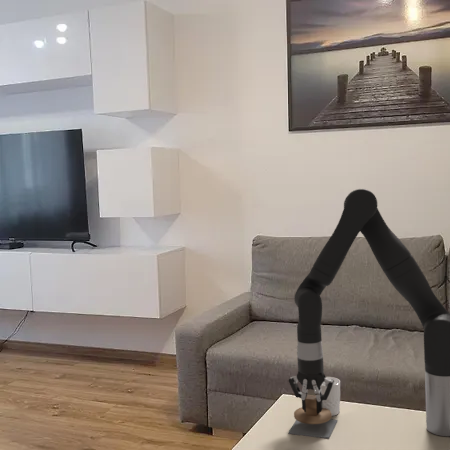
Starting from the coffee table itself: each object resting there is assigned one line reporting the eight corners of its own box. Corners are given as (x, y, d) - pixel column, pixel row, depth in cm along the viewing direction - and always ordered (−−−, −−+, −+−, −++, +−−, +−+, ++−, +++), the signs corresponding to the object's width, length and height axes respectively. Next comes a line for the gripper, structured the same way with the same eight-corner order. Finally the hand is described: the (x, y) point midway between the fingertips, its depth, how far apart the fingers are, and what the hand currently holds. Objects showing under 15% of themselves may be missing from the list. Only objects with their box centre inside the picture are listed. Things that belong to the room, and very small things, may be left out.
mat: (337, 421, 177) (337, 419, 177) (329, 438, 166) (329, 437, 166) (299, 416, 181) (298, 415, 181) (288, 433, 170) (288, 432, 170)
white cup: (343, 416, 180) (342, 385, 179) (317, 417, 180) (316, 386, 179) (339, 406, 188) (337, 376, 187) (314, 407, 188) (313, 377, 187)
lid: (334, 410, 176) (334, 392, 176) (327, 426, 166) (326, 406, 166) (299, 406, 180) (298, 388, 180) (289, 421, 170) (288, 402, 170)
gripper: (336, 353, 172) (338, 409, 174) (290, 349, 178) (292, 404, 179) (331, 361, 165) (333, 419, 167) (283, 357, 171) (286, 414, 172)
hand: (312, 411), depth 173 cm, fingers closed on lid, 3 cm apart
